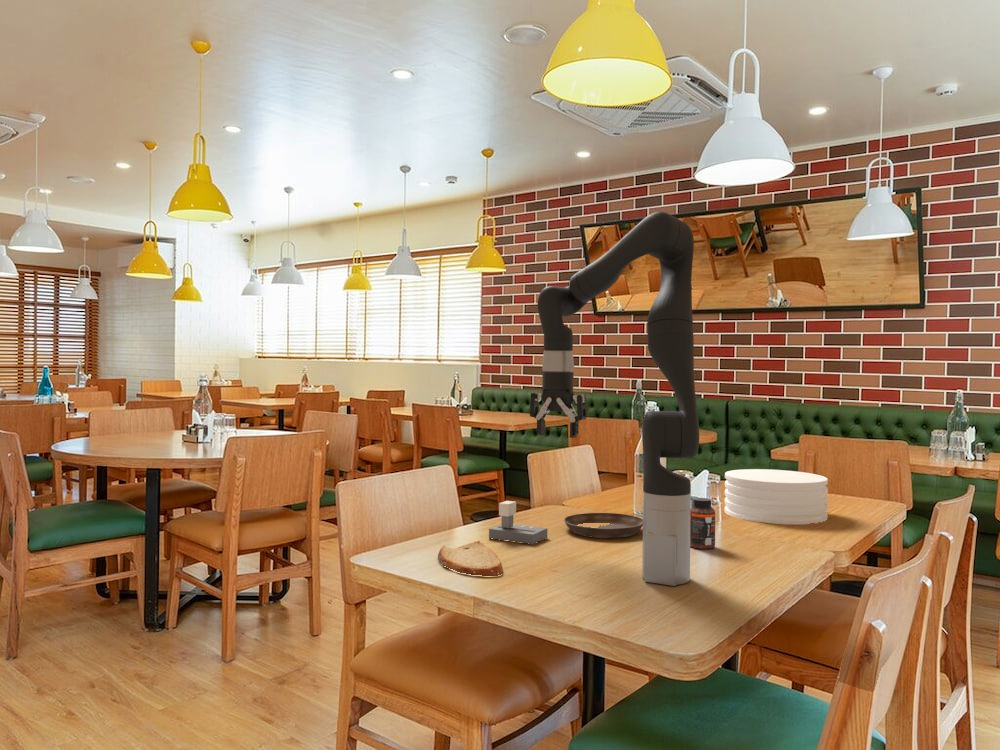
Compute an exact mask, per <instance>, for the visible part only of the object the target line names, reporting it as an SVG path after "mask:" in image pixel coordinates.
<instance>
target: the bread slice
mask: <svg viewBox="0 0 1000 750" xmlns="http://www.w3.org/2000/svg"><path fill="white" fill-rule="evenodd" d="M438 560H439V562H440V563H441V564H442V565H443V566H446V567H448V568H450V569H453V570H455V571H457V572H460V573H466V574H471V575H482V576H498V575H501V574H503V573H504V574H505V572H504V570H503V569H504V568H503V564H502V561H501V559H500V558H499V557H498V555H497V554H496V552H494V550H492V549H491V548H490V547H489V546H487V545H486V544H484V543H483V542H481V541H479V540H477V541H474V542H470V543H467V544H463V545H461V546H458V547H455V548H454V547H448V546H446V545H443V546H442V547H441V548H440V549H439V552H438V555H437V561H438ZM439 562H438V563H439ZM440 563H439V564H440ZM441 564H440V565H441ZM442 565H441V566H442Z"/></svg>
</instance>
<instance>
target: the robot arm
mask: <svg viewBox="0 0 1000 750" xmlns="http://www.w3.org/2000/svg"><path fill="white" fill-rule="evenodd" d="M694 238H695V237H694V233H693V229H691V227H690V225H688V224H687V223H686V222H685V221H683V220H681V219H679V218H678V217H676V216H674V215H672V214H670V213H668V212H665V211H655V212H652V213H651V214H649V215H647V216H645V217H644V218H643V219H642V220H641V221H639V223H637V224H636V225H635V226H634V227H633V228H632V229H631V230H630V231H628V232H627V233H626V234H625V235H623V237H622V238H621V239H620V240H619V241H617V242H616V243H615V244H614V245H613V246H612V247H611V248H610V249H609V250H607V251H606V252H605V253H604V254H603V255H602V256H600V257H599V258H597V259H596V260H594V261H593V262H591V263H589V264H588V265H587V266H585V267H584V268H581V269H580V270H579V271H577V272H576V273H575V274H573V275H572V276H571V278H570V279H569V283H568V286H553V285H548V286H545V287H544V288H542V290H541V291H540V293H539V295H538V298H537V311H538V316H539V321H540V325H541V328H542V332H543V356H542V366H541V367H542V372H541V373H542V374H541V375H542V376H541V377H542V385H541V387H542V393H540V392H531V394H530V399H529V400H530V405H529V417H531V418H533V419H535V420H536V433H538V436H545V435H546V417H547V415H548V414H549V413H550V412H558V413H559V412H560V413H562V412H564V414H565V415H566V416H567V418H568V419H569V420H570V422H569V438H571V439H574V438H575V439H576V438H577V436H578V435H579V428H580V427H579V425H580V424H579V423H580V421H583V420H586V419H587V417H588V416H587V402H586V401H587V399H586V398H587V397H586V395H585V394H584V393H582V394H577V395H576V394H575V393H574V369H575V365H574V364H575V363H574V352H573V351H574V349H573V348H574V346H573V343H574V341H573V330H572V328H570V327H569V326H567V325H565V324H564V319H563V317H570V316H573V315H574V314H577V312H579V311H580V310H582V308H584V306H586V305H587V303H589V301H590V300H592V299H594V298H595V297H597V296H599V295H600V294H602V293H604V292H606V291H607V290H608V289H610V288H611V287H612V286H614V284H616V283H617V281H618V280H619V279H620V276H621V274H623V273H622V272H623V271H624V270H625V268H626V267H627V266H628V265H629V264H631V263H632V262H633V261H635V260H636V259H640V258H641V257H643V256H647V255H649V256H651V257H653V258H656V259H658V261H659V267H660V288H659V291H658V293H657V295H656V297H655V300H654V301H653V303H652V305H651V307H650V309H649V312H648V316H647V324H646V328H647V329H646V330H647V331H646V332H647V333H646V334H647V336H646V337H647V350H648V352H649V355H650V356H651V359H652V360H653V362H654V363H655V365H656V366H657V367H658V369H659V370H660V372H661V373H662V374H663V375H664V377H665V379H666V380H667V381H668V383H669V385H670V387H671V388H672V391H673V393H674V394H675V397H676V400H677V401H676V402H677V404H678V405H677V406H678V409H679V410H678V411H676V410H674V411H671V410H655V411H654V410H651V411H647V412H646V413H645V414H644V416H643V418H642V426H641V438H642V439H641V440H642V458H643V459H642V461H643V462H642V463H643V464H642V465H643V467H642V468H643V469H642V470H643V476H642V477H643V479H642V480H643V481H642V484H643V485H642V519H643V526H642V556H641V557H642V568H641V569H642V572H641V573H642V579H643V581H644V582H647V583H654V584H659V585H665V586H670V587H671V586H672V587H676V586H677V585H683V584H687V583H689V582H690V581H691V546H690V512H691V508H692V506H691V504H692V502H691V501H692V497H691V496H692V495H691V493H692V492H691V491H692V486H691V485H692V482H691V480H690V479H689V478H688V477H687V476H685V475H682V474H680V473H676V472H673V471H671V470H670V469H668V468H666V467H665V466H663V464H662V463H661V458H663V459H664V458H665V459H666V458H668V459H669V458H670V459H674V458H676V459H687V458H688V459H690V458H694V457H695V456H696V455H697V454H698V451H699V447H700V428H699V427H700V425H699V417H698V415H699V414H698V405H697V397H696V388H695V373H694V371H695V366H694V364H695V362H694V360H695V359H694V358H695V356H694V351H695V350H694V344H695V343H694V341H695V340H694V339H695V338H694V322H693V321H694V320H693V301H692V300H693V298H692V297H693V296H692V295H693V294H692V293H693V291H692V290H693V289H692V273H693V261H694V246H695V245H694V244H695V242H694V241H695V240H694ZM541 400H542V402H543V405H542V406H541V407H540V402H541ZM573 402H575V404H576V409H577V411H576V409H575V408H574V406H573Z"/></svg>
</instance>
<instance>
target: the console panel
mask: <svg viewBox="0 0 1000 750" xmlns="http://www.w3.org/2000/svg"><path fill="white" fill-rule="evenodd" d="M489 538H493V539H500V540H509V541H515V542H522V543H529V544H534V543H536V542H538V541H541V540H543V539H545V538H547V539H548V528H547V527H542V526H533V525H525V524H515V523H513V527H511V528H503V527H502V523H501V524H497V525H495V526H492V527H490V528H488V539H489ZM493 539H492V540H493ZM500 540H499V541H500ZM545 540H546V539H545ZM543 541H544V540H543ZM541 542H542V541H541ZM536 544H537V543H536ZM534 545H535V544H534Z"/></svg>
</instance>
